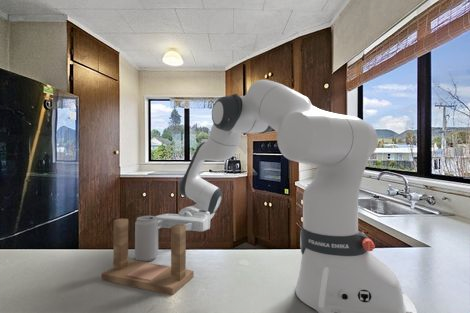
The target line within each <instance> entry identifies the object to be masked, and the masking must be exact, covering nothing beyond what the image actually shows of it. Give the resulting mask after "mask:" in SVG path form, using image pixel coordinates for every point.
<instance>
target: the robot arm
mask: <svg viewBox="0 0 470 313" xmlns="http://www.w3.org/2000/svg"><path fill="white" fill-rule="evenodd" d="M211 120H212V123H213V124H212V126H211V129H210V132H209V136H208V138H207V140H206V141H204V142H203V141H202V142H201V143H200V144H199V145H198V146H197V148H196V150H195V151H194V154H193V155H192V157H191V159H190V163H189V165H188V167H187V169H186V171H185V173H184V175H183V176H182V178H181V180H180V182H179V184H178V187H179V192H180V194H181V196H183V197H185V198H187V199H190V200H192V201H193V202H195V204H193V205H190V206H186V207H183V208H181V209H180V210H179V212H178V213H161V214H158V215H155V216H156V217H157V220H158V230H160V229H162V228H164V229H171V227H172V226H174V225H176V224H179V225H186V232H191V231H193V232H205V231H207V230H210V228H211V220H212V219H213V218H214V216H215V215H216V212H217V211H218V210H219V208H220V206H221V204H222V203H223V202H222V201H223V193H222V190H221V188H220V187H218V186H216V185H214V184H213V183H210V182H209V181H207V180H205V179H203V178H202V177H201V176H200V174H199V173H200V171H201V170H202V167H203V165H204V163H205V161H210V162H211V161H212V162H224V161H228V160H230V159H231V158H233V157H234V155H235V154H236V152H237V149H238V146H239V143H240V142H241V137H242V133H243V134H260V135H261V134H266V133H269V132H271V131H273V130H274V132H276V142H277V146H278V150H279V151H280V153H281V155H283V157H284V158H286V159H287V160H289V161H292V162H295V163H296V162H297V163H300V164H304V165H311V166H312V165H314V166H315V165H317V168H316V171H315V174H314V176H313V179H312V181H311V182H310V183H309V184H308V185H307V186H306V187H305V188H304V191H303V194H302V226H301V228H300V231H299V234H300V239H299V242H300V244H299V245H300V253H301V260H300V261H301V262H300V268H299V274H298V278H297V283H296V285H295V288H294V291H295V294H296V296H297V298H299V300H300V301H302V303H304V304H305V305H307V306H308V307H311V308H312V309H313V310H315V311H316V312H317V313H418V311H417V308H416V306H415V303H413V301H412V300H411V299H410V298H409V297H408V295H407V294H406V293H404V292H403V290H402V286H401V283H400V280H399V279H398V276H397V274H395V272H394V270H392V269H391V267H389V265H387V264H386V263H384V262H383V260H381V259H380V258H378V257H377V256H376V255H375V254H373V252H372V251H374V250H375V247H376V246H375V243H374V241H373V240H372V239H370V238H369V236H368V235H367V234H365V233H364V232H363V231H360V230H359V197H360V190H361V184H362V181H363V177H364V173H365V170H366V167H367V163H368V161H369V159H370V158H371V156H372V155H373V154H374V153H375V151H376V149H377V147H378V143H379V142H378V141H379V140H378V134H377V131H376V129H375V128H374V127H373V126H372V125H371V124H370V123H368V122H366V121H365V120H364V119H361V118H359V117H357V116H353V115H348V114H347V115H346V114H341V113H335V112H331V111H327V110H324V109H320V108H318V107H317V106H314V105H313V104H312V102H311V100H310V98H309V97H307V96H306V95H303V94H302V93H300V92H298V91H297V90H294V89H292V88H291V87H289V86H286V85H284V84H282V83H280V82H276V81H273V80H269V79H259V80H257V81H254V82H253V83H252V84H250V86H249V88H248V90H247V92H246V94H245V95H241V96H240V95H238V93H234V94H231V95H225V96H221V97H218V98H217V100H216V101H215V102H214V103H213V106H212V107H211Z"/></svg>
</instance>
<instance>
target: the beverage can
mask: <svg viewBox="0 0 470 313" xmlns="http://www.w3.org/2000/svg"><path fill="white" fill-rule="evenodd" d="M156 216H157V215H142V216H138V217H137V218H136V220H135V222H134V228H135V229H134V258H135V259H136V261H140V262H146V263H149V262H152V261H155V260H156V258H157V257H158V256H159V229H158V220H157V217H156Z"/></svg>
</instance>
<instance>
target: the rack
mask: <svg viewBox="0 0 470 313" xmlns="http://www.w3.org/2000/svg"><path fill="white" fill-rule="evenodd" d="M170 229H171V230H170V236H171V237H170V259H171V260H170V266H169V265H168V266H167V265H163V264H156V263H152V262H151V263H150V262H140V261H138V260H133V259H129V219H128V218H118V219H113V252H112V255H113V261H112V264H113V266H112V268H109V269H108V270H106V271H104V272H102V273H101V281H106V282H110V283H114V284H120V285H124V286H129V287H133V288H137V289H142V290H143V289H144V290H148V291H152V292H155V293H161V294H166V295H171V296H174V295H175V294H177V292H179V291H180V289H182V288H183V287H184V286H185V285H186V284H187V283H189V281H190V280H192V279H193V278H194V274H195V273H194V270H192V269H187V268H186V266H187V261H186V258H187V255H186V253H187V249H186V248H187V247H186V246H187V245H186V244H187V241H186V240H187V231H186V225H179V224H176V225H174V226H172V227H171V228H170Z"/></svg>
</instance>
